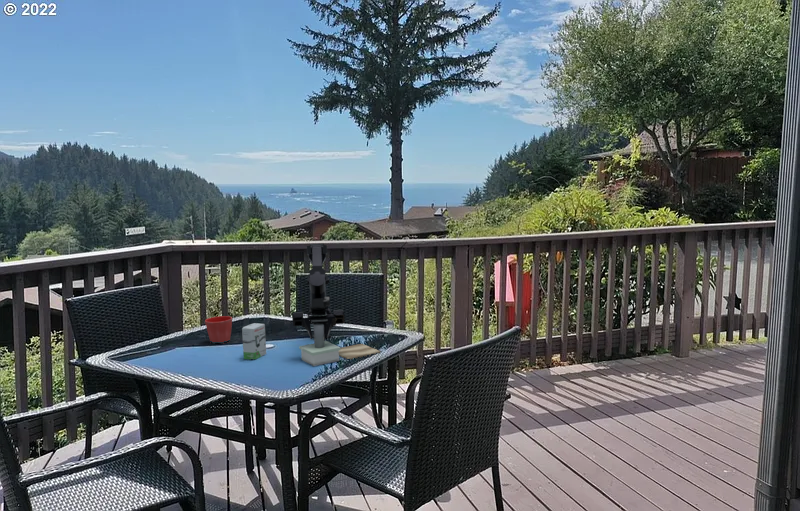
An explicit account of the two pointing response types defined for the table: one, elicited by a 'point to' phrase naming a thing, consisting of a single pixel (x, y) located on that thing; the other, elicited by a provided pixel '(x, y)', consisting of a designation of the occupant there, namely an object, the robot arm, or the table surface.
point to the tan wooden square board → (357, 351)
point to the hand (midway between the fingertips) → (319, 338)
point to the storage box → (320, 358)
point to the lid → (319, 343)
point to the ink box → (254, 341)
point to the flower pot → (219, 328)
